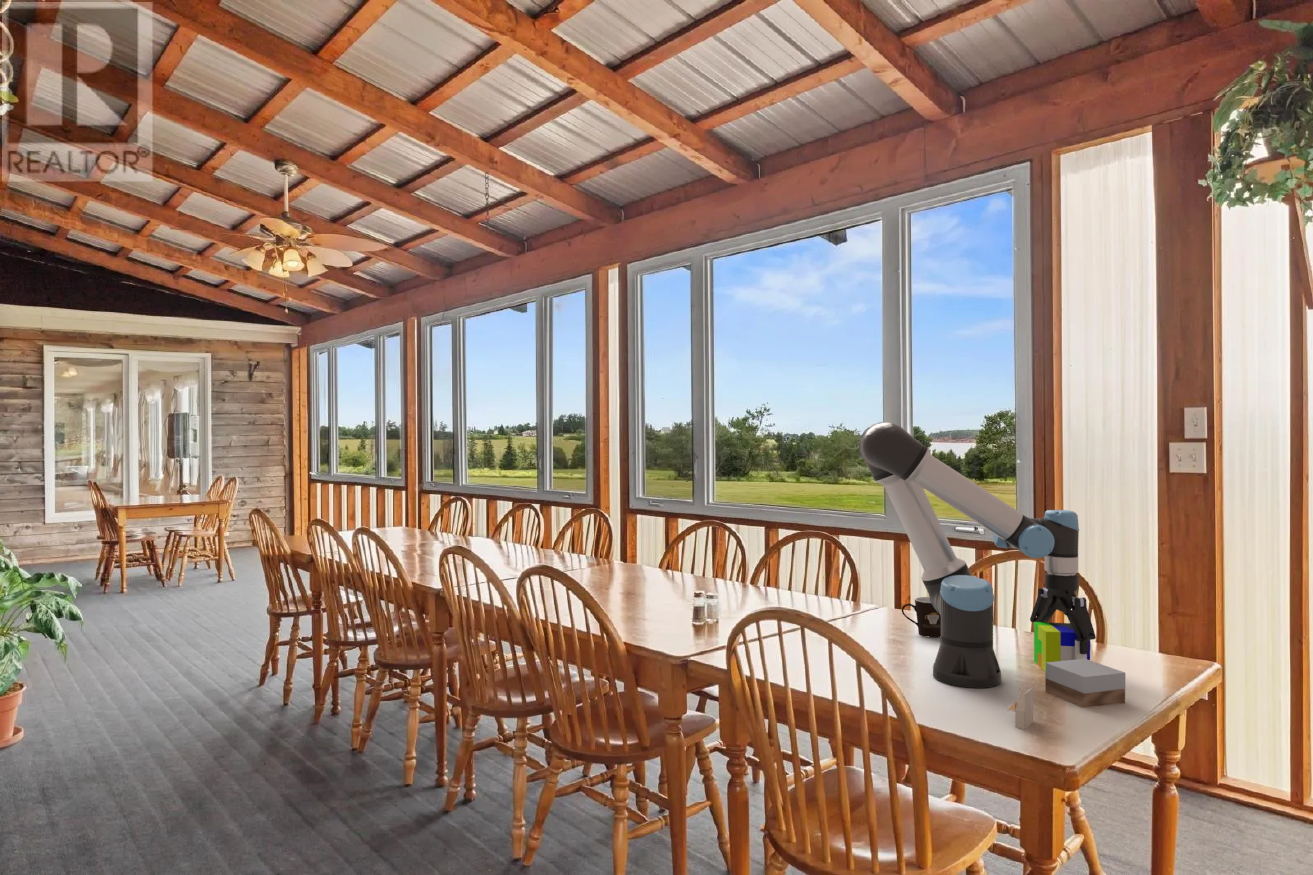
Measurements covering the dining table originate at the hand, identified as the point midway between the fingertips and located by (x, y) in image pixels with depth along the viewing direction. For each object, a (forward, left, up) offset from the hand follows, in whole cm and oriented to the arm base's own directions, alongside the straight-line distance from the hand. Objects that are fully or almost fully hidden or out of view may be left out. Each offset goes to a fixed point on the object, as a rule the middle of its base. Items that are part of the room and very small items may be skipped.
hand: (1061, 659), depth 201 cm
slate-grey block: (-11, -20, +1) cm, 23 cm away
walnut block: (-11, -20, -3) cm, 23 cm away
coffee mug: (-14, +38, -2) cm, 41 cm away
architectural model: (-35, -31, -3) cm, 47 cm away
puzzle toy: (0, 0, -2) cm, 2 cm away
